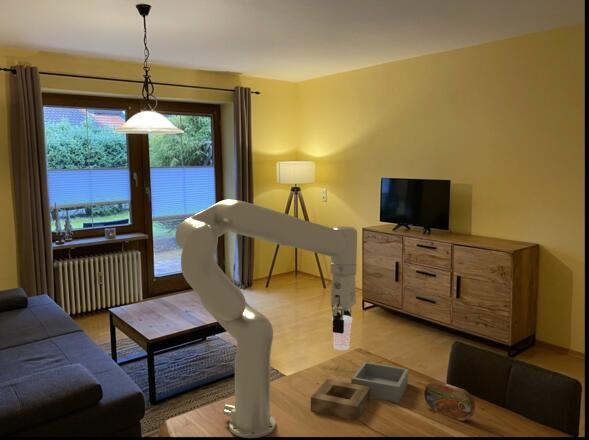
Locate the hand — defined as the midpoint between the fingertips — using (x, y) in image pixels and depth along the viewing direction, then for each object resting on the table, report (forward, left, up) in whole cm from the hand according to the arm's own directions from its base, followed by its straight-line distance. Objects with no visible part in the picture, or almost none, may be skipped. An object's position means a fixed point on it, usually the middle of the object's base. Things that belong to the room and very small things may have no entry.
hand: (341, 328), depth 140 cm
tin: (+30, +8, -24) cm, 39 cm away
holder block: (0, 0, -23) cm, 23 cm away
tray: (+8, +16, -23) cm, 30 cm away
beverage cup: (0, 0, -6) cm, 6 cm away
